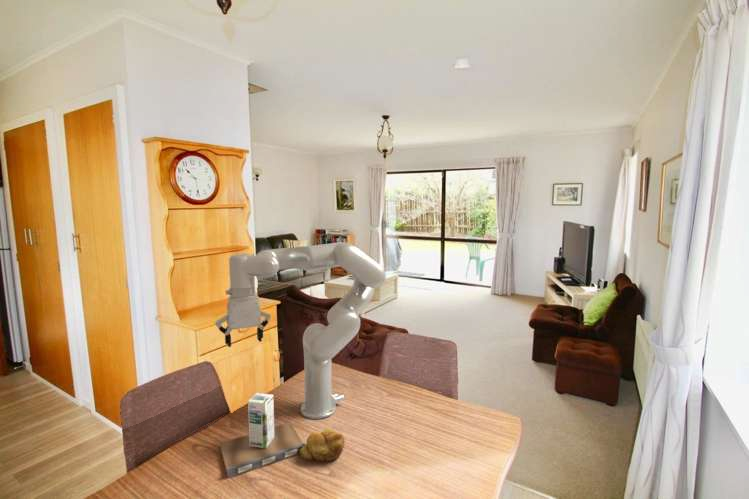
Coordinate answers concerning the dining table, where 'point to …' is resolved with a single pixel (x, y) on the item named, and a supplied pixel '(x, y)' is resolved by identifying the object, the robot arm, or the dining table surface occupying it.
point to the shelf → (259, 451)
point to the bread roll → (323, 446)
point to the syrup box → (261, 420)
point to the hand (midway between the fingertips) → (244, 342)
